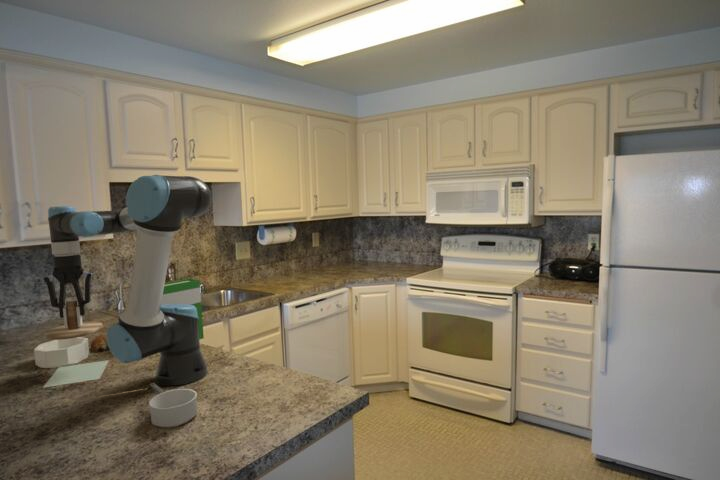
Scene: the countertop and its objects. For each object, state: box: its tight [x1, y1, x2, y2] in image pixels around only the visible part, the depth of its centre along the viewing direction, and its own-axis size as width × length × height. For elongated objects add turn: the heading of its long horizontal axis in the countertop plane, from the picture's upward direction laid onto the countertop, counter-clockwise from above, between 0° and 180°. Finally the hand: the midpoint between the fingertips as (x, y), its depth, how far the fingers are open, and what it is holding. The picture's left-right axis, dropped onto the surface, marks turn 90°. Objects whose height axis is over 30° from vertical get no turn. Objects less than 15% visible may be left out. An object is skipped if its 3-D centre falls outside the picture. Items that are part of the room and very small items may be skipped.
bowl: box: [33, 336, 90, 369], centre depth 158 cm, size 15×15×6 cm
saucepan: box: [147, 382, 198, 428], centre depth 116 cm, size 12×20×6 cm, turn 45°
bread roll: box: [90, 332, 110, 353], centre depth 171 cm, size 10×10×8 cm
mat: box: [42, 359, 109, 388], centre depth 145 cm, size 18×15×1 cm
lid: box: [43, 300, 104, 341], centre depth 144 cm, size 16×16×10 cm
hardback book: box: [161, 278, 204, 340], centre depth 175 cm, size 18×7×24 cm, turn 141°
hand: (73, 326), depth 144 cm, fingers closed on lid, 3 cm apart
